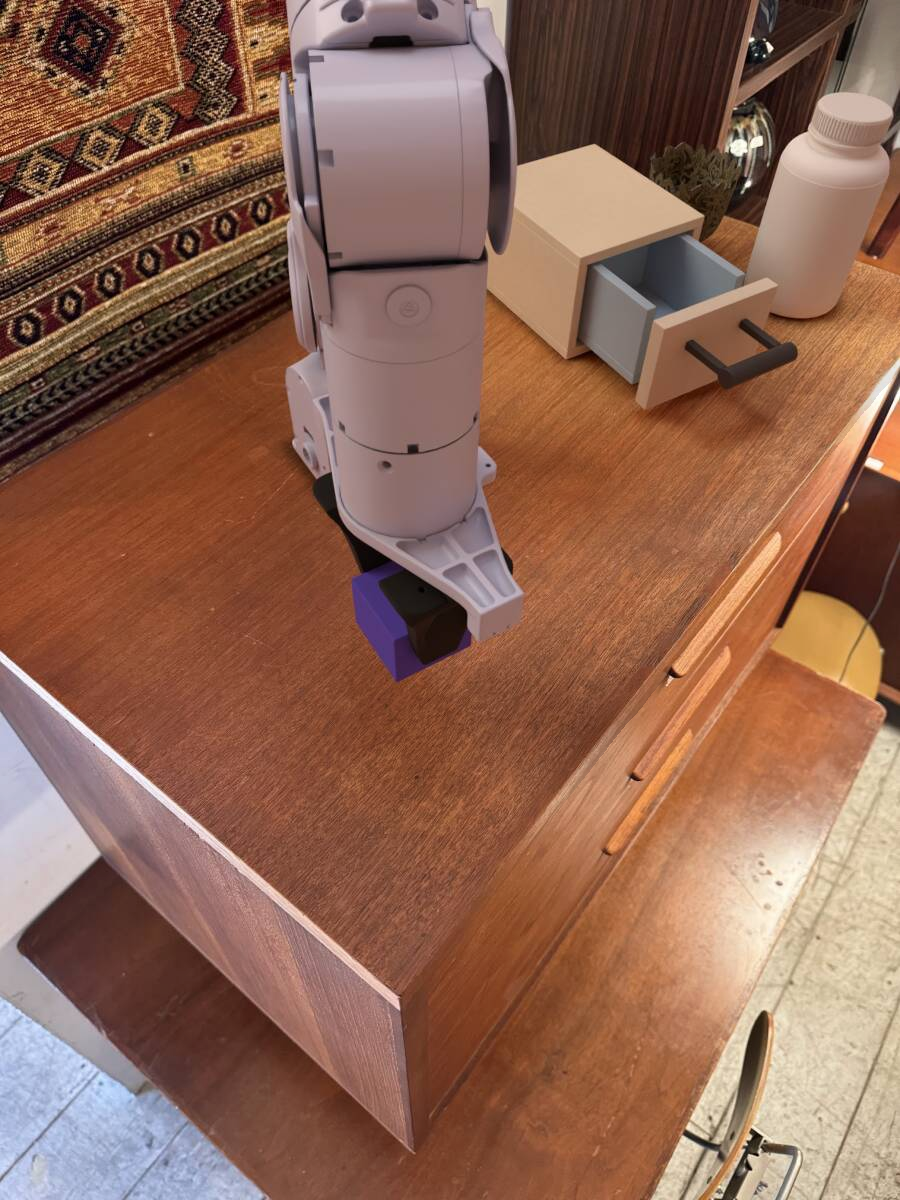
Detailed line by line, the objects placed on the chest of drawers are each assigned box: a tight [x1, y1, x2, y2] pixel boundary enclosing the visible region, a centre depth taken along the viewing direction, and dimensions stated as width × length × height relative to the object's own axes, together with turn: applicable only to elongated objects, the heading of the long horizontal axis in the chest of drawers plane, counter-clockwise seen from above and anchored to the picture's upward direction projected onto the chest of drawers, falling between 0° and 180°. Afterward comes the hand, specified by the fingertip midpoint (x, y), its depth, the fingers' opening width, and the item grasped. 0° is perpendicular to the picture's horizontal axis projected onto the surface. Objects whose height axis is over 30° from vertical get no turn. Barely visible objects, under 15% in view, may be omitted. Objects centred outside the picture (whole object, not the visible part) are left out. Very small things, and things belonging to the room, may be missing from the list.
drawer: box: [577, 232, 799, 411], centre depth 64 cm, size 17×10×7 cm, turn 31°
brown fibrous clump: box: [648, 141, 743, 244], centre depth 74 cm, size 8×7×8 cm
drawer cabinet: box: [485, 143, 705, 361], centre depth 70 cm, size 14×12×9 cm
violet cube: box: [350, 561, 473, 683], centre depth 43 cm, size 4×4×4 cm
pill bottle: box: [743, 91, 894, 319], centre depth 68 cm, size 8×8×15 cm
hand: (412, 618), depth 44 cm, fingers closed on violet cube, 4 cm apart
